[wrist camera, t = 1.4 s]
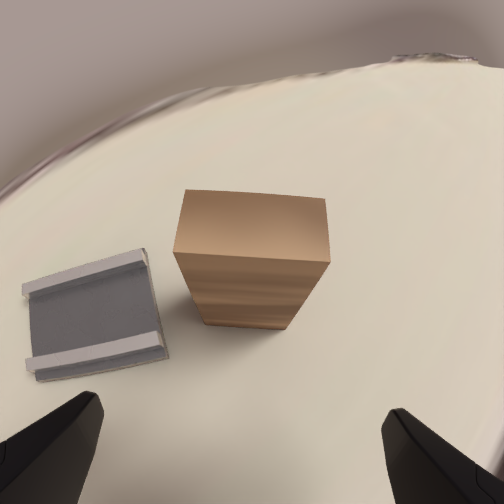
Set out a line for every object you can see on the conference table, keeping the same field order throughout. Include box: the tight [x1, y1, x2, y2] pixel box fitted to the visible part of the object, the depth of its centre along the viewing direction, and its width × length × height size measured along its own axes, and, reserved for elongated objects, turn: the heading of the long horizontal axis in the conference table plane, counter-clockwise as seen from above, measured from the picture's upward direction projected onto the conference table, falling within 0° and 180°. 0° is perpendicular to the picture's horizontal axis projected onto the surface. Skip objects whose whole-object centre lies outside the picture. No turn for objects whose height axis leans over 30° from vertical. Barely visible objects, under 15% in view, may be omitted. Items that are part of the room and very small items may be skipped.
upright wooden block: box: [173, 190, 331, 330], centre depth 17 cm, size 4×6×12 cm, turn 87°
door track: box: [22, 248, 169, 382], centre depth 20 cm, size 12×9×2 cm
